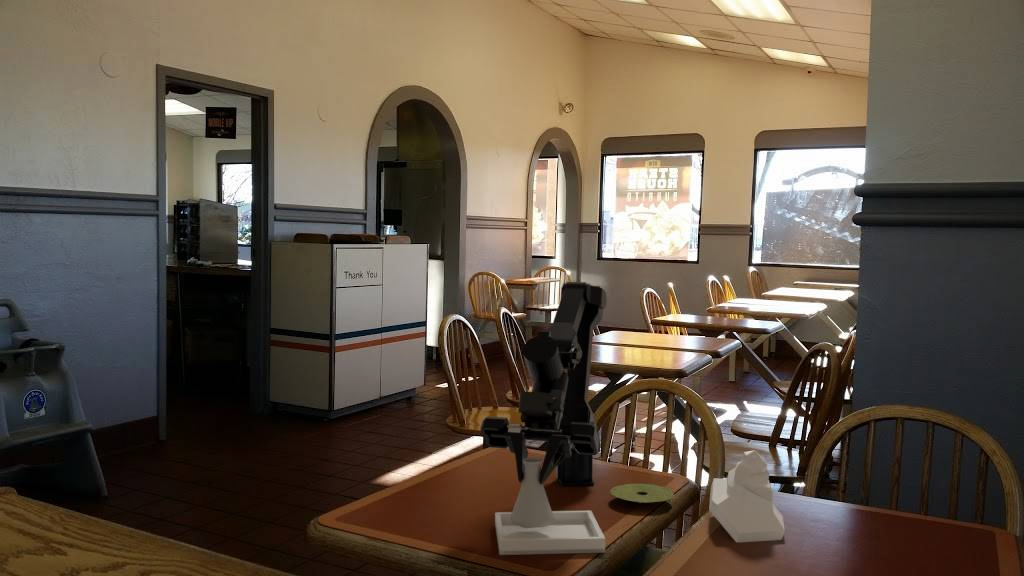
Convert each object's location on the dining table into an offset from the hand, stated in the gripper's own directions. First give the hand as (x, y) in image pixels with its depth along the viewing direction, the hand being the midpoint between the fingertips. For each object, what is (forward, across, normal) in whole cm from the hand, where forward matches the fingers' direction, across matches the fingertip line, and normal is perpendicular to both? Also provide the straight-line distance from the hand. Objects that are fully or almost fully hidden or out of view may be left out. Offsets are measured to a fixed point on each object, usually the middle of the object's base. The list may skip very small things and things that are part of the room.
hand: (530, 482), depth 130 cm
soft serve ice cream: (-4, +32, +18) cm, 37 cm away
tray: (+5, +2, +8) cm, 10 cm away
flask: (+4, 0, +6) cm, 7 cm away
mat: (-10, +14, +24) cm, 30 cm away
